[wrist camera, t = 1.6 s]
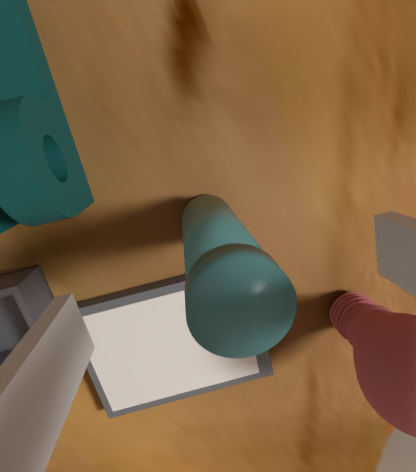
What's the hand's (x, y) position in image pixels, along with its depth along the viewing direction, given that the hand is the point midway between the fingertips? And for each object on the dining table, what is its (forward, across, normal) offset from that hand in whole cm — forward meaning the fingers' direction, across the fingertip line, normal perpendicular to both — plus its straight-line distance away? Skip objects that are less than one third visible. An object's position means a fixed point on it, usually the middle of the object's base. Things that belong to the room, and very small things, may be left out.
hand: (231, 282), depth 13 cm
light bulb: (+12, +10, -11) cm, 19 cm away
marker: (+11, 0, 0) cm, 11 cm away
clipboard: (+11, -5, -10) cm, 16 cm away
